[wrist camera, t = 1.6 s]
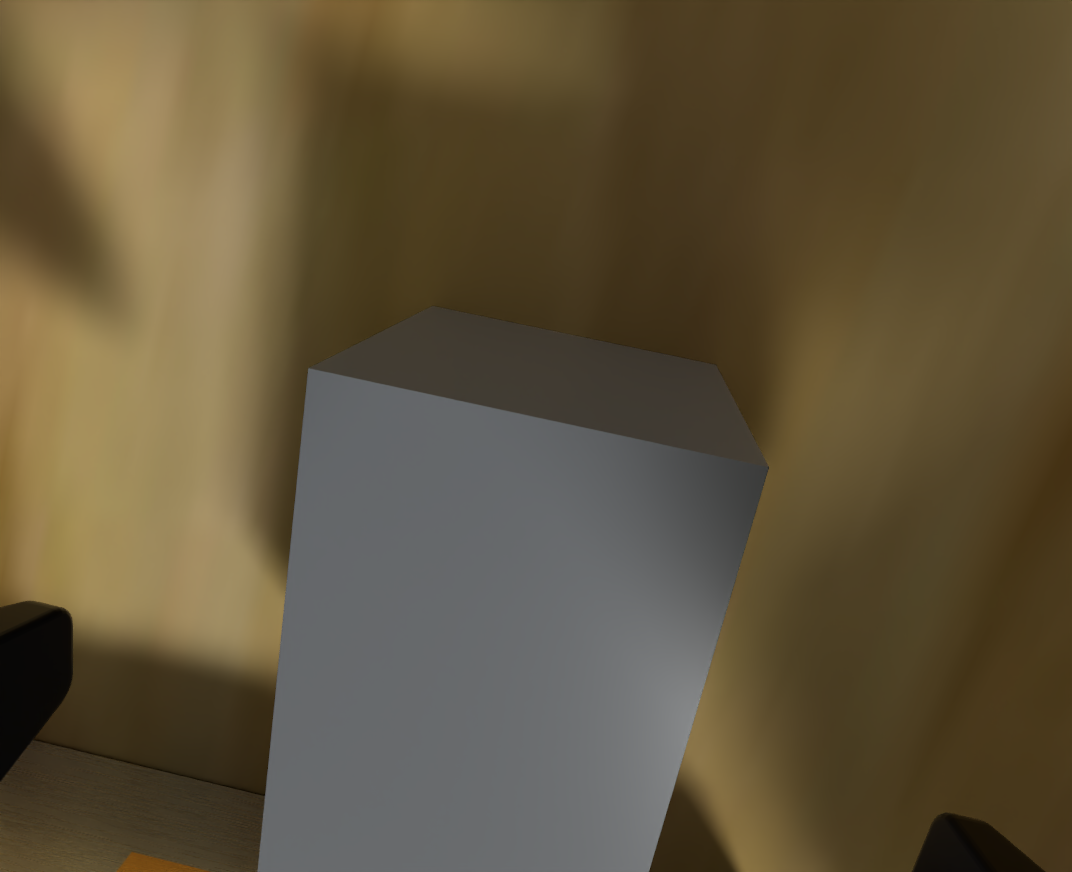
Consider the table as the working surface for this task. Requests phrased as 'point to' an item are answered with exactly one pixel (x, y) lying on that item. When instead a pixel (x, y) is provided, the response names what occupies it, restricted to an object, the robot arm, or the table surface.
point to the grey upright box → (499, 599)
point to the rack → (121, 818)
